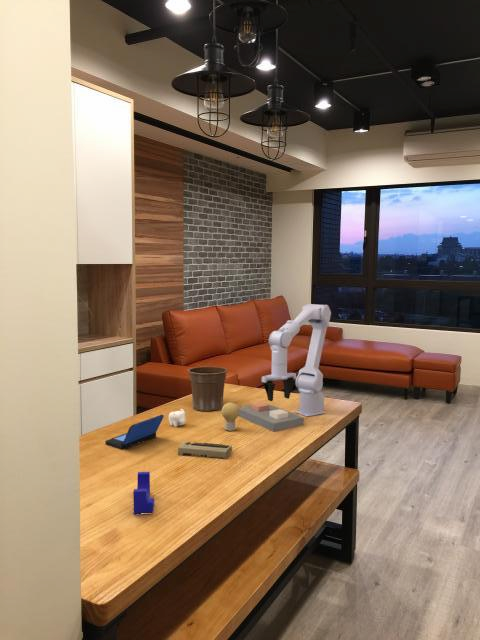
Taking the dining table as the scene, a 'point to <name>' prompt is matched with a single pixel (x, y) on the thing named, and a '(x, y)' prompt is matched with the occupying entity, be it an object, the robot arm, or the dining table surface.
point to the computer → (205, 450)
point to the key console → (270, 418)
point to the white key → (278, 414)
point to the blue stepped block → (143, 494)
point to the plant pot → (207, 387)
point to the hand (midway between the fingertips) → (278, 399)
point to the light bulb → (230, 415)
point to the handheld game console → (137, 433)
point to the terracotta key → (260, 406)
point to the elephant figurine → (177, 418)
